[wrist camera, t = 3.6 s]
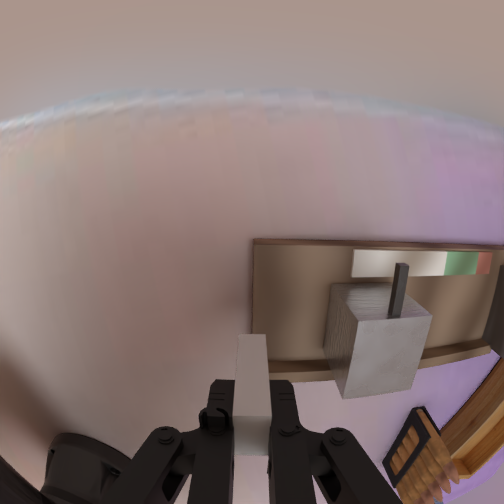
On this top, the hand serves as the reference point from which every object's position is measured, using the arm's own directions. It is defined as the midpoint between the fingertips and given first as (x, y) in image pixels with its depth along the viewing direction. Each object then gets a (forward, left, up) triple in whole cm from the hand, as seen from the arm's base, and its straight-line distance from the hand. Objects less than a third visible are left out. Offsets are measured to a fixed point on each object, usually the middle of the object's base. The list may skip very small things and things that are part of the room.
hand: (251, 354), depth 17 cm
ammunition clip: (+19, -19, -7) cm, 28 cm away
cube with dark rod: (+8, +1, -5) cm, 10 cm away
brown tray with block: (+14, 0, -7) cm, 15 cm away
